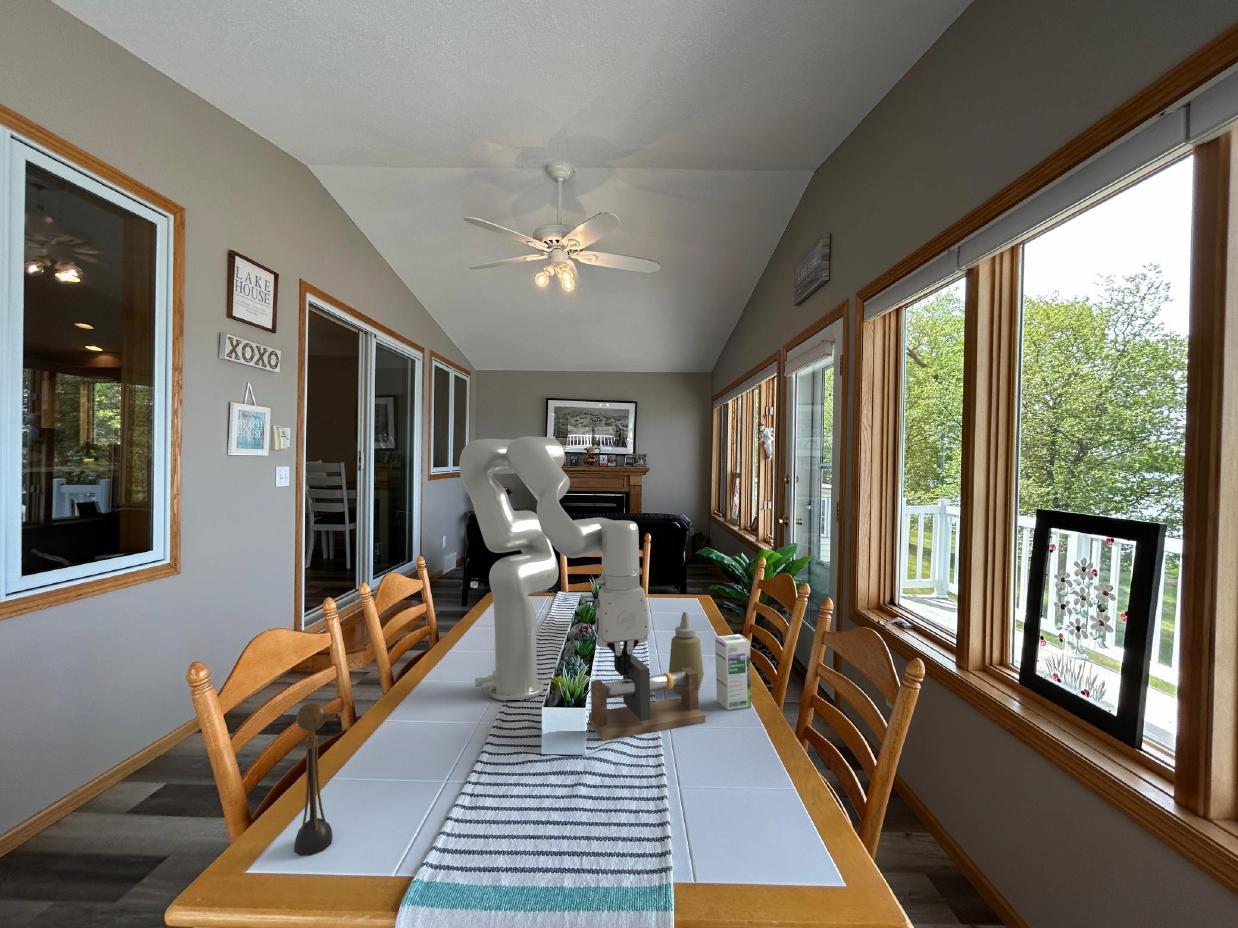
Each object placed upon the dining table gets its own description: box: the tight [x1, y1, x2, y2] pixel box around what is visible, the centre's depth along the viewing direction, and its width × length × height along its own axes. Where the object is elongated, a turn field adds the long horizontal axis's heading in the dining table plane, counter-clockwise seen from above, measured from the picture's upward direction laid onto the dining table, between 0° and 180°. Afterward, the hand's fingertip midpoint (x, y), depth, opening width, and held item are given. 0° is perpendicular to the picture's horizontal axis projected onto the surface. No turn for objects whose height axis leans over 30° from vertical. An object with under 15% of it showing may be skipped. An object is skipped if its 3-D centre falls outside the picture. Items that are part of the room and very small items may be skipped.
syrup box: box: [714, 633, 752, 711], centre depth 130 cm, size 6×6×14 cm
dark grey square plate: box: [622, 653, 651, 721], centre depth 122 cm, size 2×10×10 cm, turn 20°
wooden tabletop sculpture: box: [293, 701, 339, 857], centre depth 84 cm, size 6×5×20 cm
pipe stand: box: [588, 667, 706, 742], centre depth 122 cm, size 22×10×9 cm, turn 110°
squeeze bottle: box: [668, 611, 705, 694], centre depth 139 cm, size 8×8×18 cm
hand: (622, 672), depth 121 cm, fingers closed
